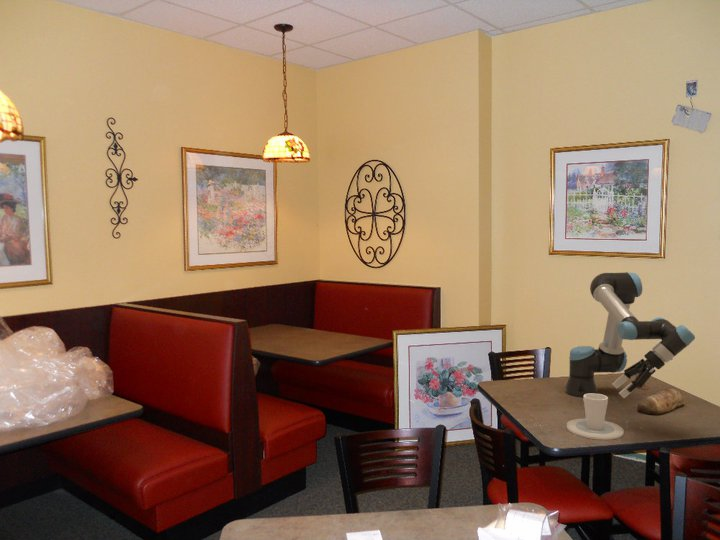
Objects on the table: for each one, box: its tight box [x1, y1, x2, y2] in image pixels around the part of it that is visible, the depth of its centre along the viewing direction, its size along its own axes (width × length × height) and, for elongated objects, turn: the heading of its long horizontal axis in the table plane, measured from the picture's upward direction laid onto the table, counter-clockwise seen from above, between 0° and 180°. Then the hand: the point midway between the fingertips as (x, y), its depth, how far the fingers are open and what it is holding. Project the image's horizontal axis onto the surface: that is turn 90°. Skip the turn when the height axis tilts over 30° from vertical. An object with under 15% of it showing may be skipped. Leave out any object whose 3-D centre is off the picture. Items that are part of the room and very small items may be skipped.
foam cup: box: [582, 393, 609, 430], centre depth 240 cm, size 10×9×13 cm
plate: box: [566, 417, 625, 441], centre depth 241 cm, size 22×22×1 cm
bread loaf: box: [637, 388, 685, 416], centre depth 269 cm, size 35×18×9 cm, turn 135°
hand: (617, 391), depth 238 cm, fingers open, 13 cm apart
